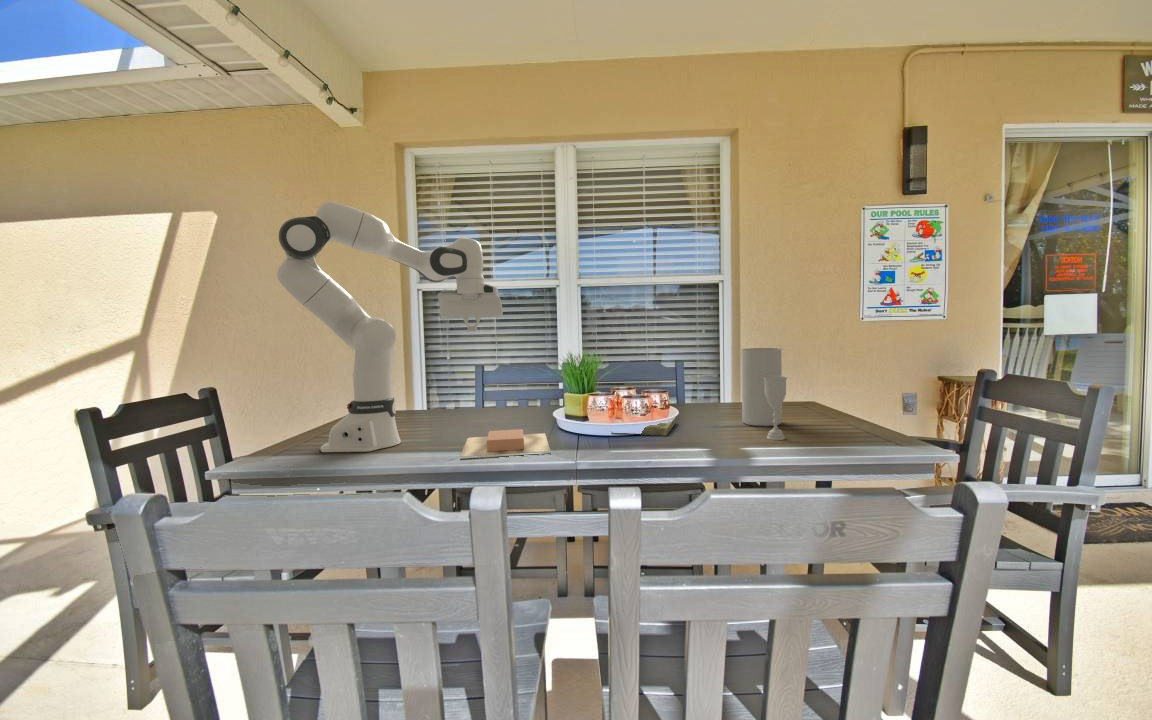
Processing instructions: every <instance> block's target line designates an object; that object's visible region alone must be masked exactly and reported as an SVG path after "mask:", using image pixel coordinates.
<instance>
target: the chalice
mask: <svg viewBox="0 0 1152 720" xmlns="http://www.w3.org/2000/svg"><path fill="white" fill-rule="evenodd" d="M788 377H789V375H788V376H787V375H782V376H780V375H769V376H763V378H764V380H765V395H766V398H767V401H768V403H769V405H770V407H772V408H773V409H774V414H773V416H774V420H773V421H772V422H773V423H774V426H773V428H772V429H770V430H769V431H768V433H767V436H766V439H768V440H774V441H781V440H782V441H783V440H785V439H786V437H785V435H784V433H783V431H782V430H781V429H779V428H778V425H777V424H778V422H779V421H778V420H777V417H778V413H777V409H778V408H780V407H781V405H782V406H783V403H784V401H785V399H786V395H787V379H788Z"/></svg>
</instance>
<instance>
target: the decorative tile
mask: <svg viewBox="0 0 1152 720" xmlns="http://www.w3.org/2000/svg"><path fill="white" fill-rule="evenodd" d="M675 424H676V417H674V419H673V421H672V422H668V423H659V424H657V425H649V426H647V427H645V428H644V430H643V431H642V433H641V434H640V436H641V435H642V436H644V435H646V436H664V437H665V436H667V435H669V433H670V431H671V430H672V428H673V427H675Z"/></svg>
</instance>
